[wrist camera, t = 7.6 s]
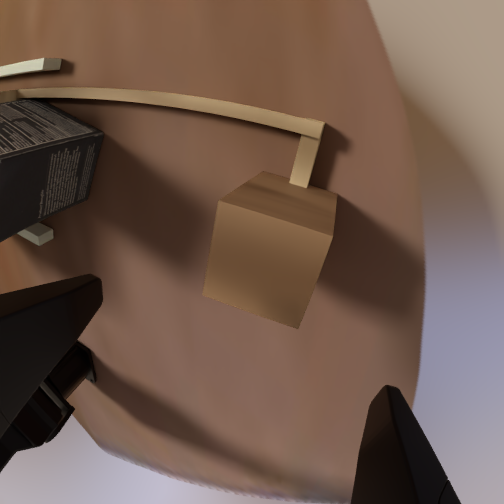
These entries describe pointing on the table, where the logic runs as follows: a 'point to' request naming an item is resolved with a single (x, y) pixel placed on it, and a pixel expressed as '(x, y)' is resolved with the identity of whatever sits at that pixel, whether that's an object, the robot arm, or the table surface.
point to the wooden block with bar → (252, 212)
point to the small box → (42, 162)
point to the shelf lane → (37, 231)
